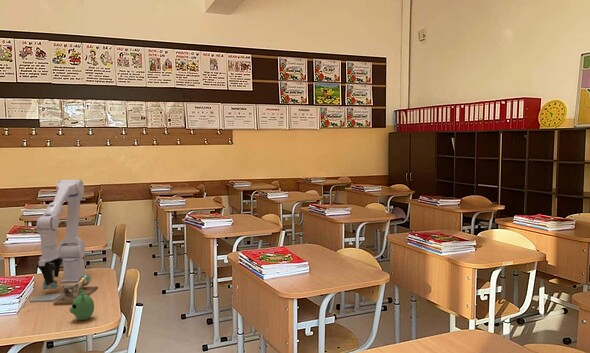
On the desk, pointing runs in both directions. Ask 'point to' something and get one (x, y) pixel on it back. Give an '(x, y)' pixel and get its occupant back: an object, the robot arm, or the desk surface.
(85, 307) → the alien toy
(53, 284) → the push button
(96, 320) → the desk surface
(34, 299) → the pad
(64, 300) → the bracket
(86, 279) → the shaft
